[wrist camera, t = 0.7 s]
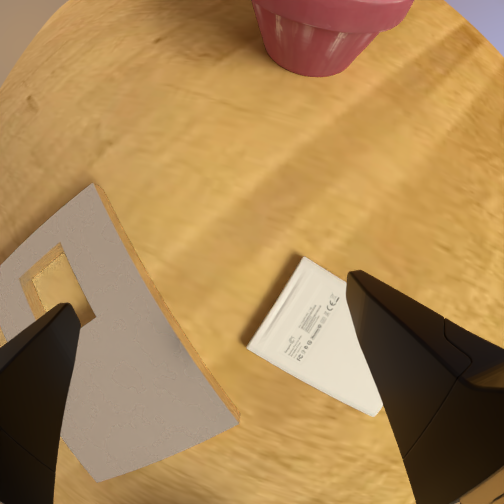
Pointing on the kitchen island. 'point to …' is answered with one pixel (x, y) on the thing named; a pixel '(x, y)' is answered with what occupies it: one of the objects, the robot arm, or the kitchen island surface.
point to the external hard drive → (317, 338)
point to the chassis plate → (116, 346)
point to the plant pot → (323, 31)
